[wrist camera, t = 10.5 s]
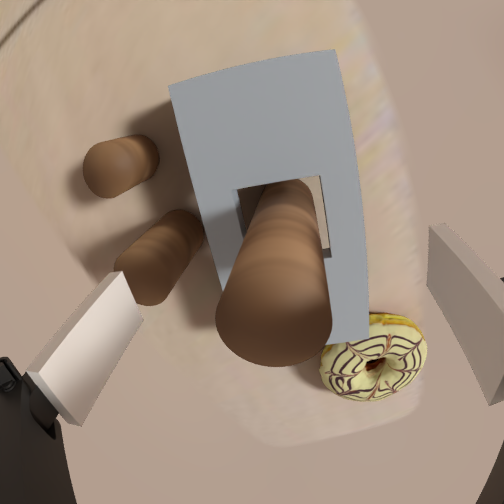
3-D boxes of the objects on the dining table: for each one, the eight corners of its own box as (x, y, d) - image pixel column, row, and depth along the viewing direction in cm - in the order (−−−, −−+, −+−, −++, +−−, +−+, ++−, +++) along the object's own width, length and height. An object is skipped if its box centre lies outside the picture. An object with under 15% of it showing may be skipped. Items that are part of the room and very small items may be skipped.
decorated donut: (313, 382, 32) (313, 409, 29) (326, 302, 28) (329, 329, 24) (401, 382, 31) (408, 406, 28) (430, 305, 26) (443, 329, 23)
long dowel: (256, 181, 24) (201, 282, 10) (308, 172, 23) (326, 265, 9) (266, 230, 25) (231, 369, 12) (316, 222, 24) (335, 361, 11)
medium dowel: (153, 214, 26) (105, 254, 19) (196, 205, 25) (157, 245, 18) (167, 257, 28) (127, 307, 20) (209, 250, 27) (178, 303, 19)
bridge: (192, 90, 21) (167, 85, 17) (326, 62, 19) (335, 49, 15) (250, 316, 29) (242, 352, 24) (359, 302, 27) (369, 338, 22)
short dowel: (111, 142, 24) (76, 152, 19) (152, 128, 23) (121, 134, 18) (124, 186, 25) (92, 203, 21) (164, 175, 24) (136, 191, 20)
